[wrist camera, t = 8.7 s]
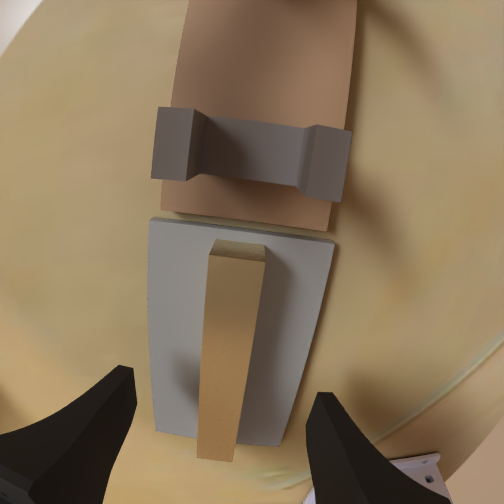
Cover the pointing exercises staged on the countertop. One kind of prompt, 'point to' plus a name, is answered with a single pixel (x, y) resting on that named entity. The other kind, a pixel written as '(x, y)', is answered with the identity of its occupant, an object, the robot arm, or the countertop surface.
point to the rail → (227, 343)
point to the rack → (258, 111)
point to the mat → (266, 329)
